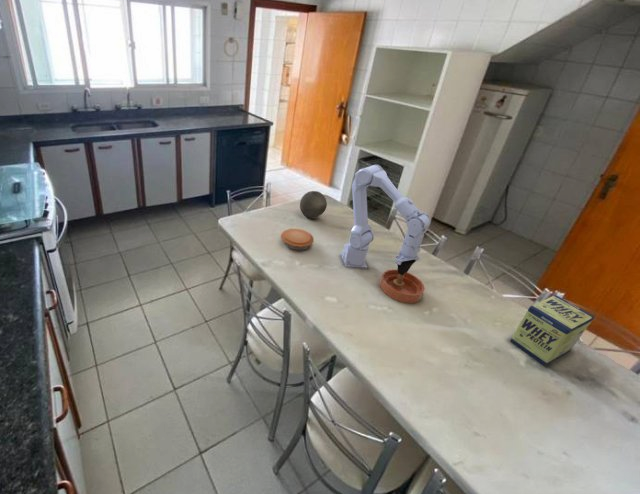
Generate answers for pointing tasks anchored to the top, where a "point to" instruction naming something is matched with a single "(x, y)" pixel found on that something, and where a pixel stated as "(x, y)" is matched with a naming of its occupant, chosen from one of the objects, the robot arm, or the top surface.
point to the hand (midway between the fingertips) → (402, 272)
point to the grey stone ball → (313, 204)
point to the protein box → (551, 329)
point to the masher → (399, 281)
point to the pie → (297, 239)
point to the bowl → (410, 290)
